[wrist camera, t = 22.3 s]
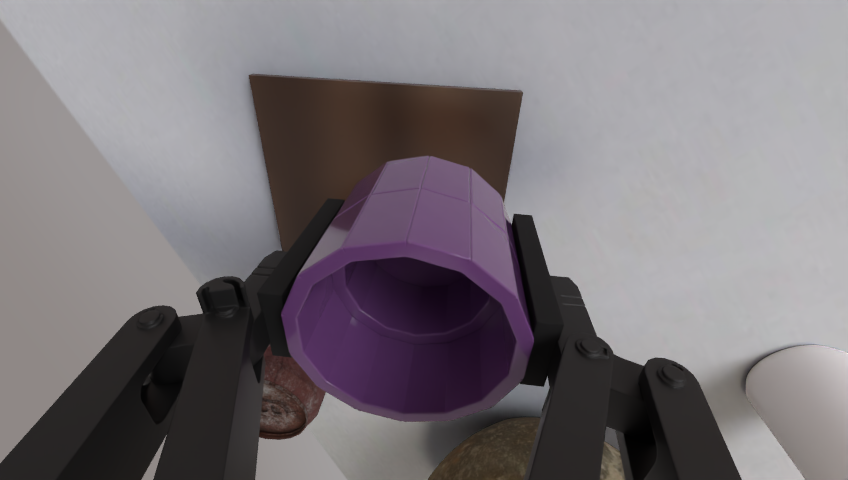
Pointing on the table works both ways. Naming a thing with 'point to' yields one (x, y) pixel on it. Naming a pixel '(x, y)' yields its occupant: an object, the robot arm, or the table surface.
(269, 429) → the can
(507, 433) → the bowl
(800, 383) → the alcohol
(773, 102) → the table surface
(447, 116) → the placemat
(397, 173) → the purple faceted cup
